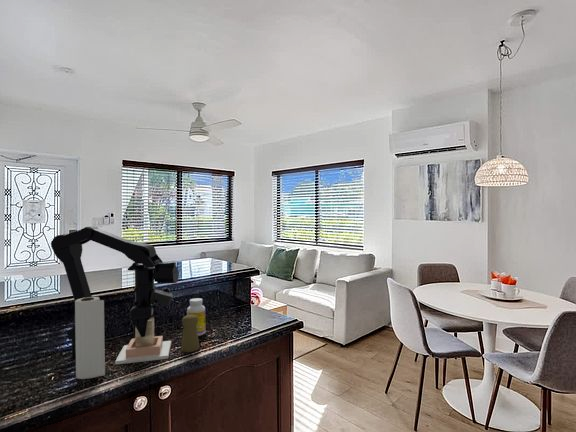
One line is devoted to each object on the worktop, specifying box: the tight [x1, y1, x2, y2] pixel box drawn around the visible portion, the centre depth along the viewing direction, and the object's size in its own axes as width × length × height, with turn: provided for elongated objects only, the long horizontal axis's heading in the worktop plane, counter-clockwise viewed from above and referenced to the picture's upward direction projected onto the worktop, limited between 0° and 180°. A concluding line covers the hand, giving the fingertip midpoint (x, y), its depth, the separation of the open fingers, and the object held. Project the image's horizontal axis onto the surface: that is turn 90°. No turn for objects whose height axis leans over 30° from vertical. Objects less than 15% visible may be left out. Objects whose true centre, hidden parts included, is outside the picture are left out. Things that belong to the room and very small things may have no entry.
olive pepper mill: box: [180, 314, 200, 353], centre depth 114 cm, size 6×6×11 cm
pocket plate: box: [114, 335, 172, 365], centre depth 110 cm, size 15×13×4 cm
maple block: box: [134, 315, 155, 347], centre depth 110 cm, size 5×5×10 cm
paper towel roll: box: [74, 296, 106, 380], centre depth 95 cm, size 7×6×21 cm
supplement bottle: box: [186, 297, 207, 337], centre depth 128 cm, size 7×7×13 cm
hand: (145, 331), depth 110 cm, fingers open, 9 cm apart
